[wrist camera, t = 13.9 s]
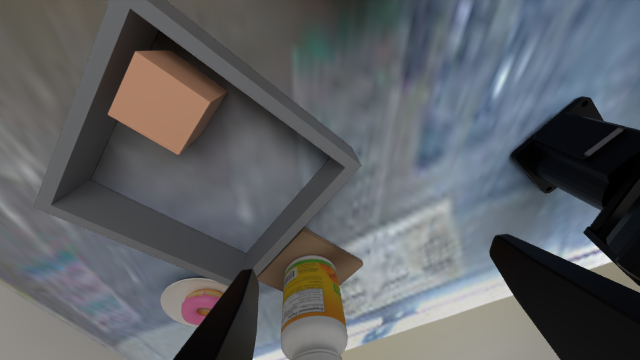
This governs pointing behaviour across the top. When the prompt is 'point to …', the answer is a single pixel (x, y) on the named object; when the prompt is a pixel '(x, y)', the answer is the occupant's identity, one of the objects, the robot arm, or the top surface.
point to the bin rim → (96, 125)
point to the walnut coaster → (306, 246)
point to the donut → (191, 299)
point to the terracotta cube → (166, 99)
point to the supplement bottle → (312, 311)
